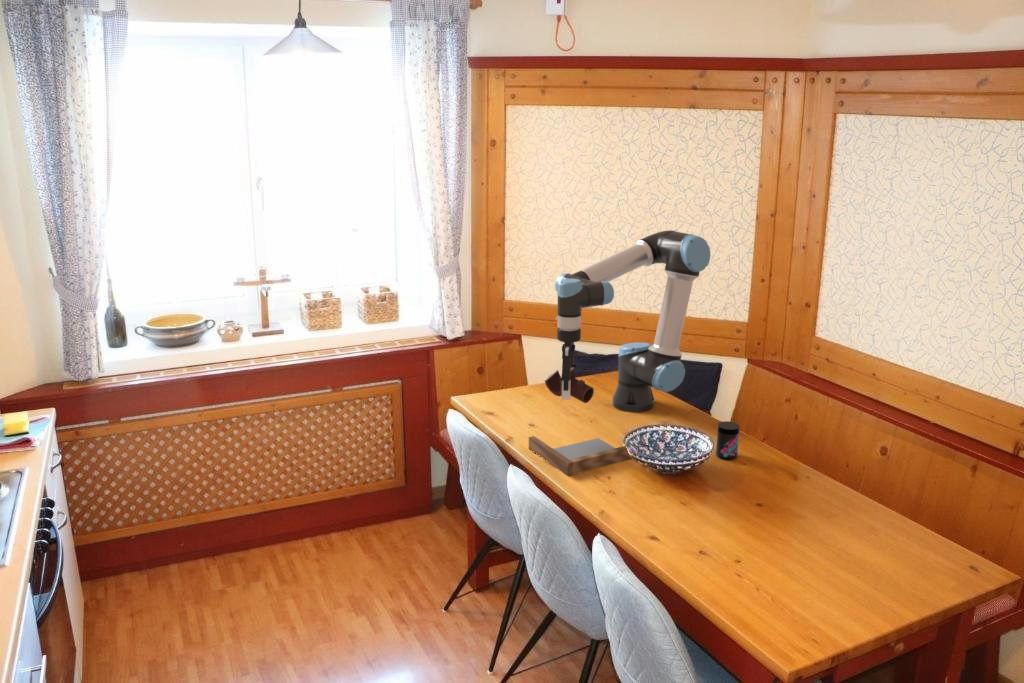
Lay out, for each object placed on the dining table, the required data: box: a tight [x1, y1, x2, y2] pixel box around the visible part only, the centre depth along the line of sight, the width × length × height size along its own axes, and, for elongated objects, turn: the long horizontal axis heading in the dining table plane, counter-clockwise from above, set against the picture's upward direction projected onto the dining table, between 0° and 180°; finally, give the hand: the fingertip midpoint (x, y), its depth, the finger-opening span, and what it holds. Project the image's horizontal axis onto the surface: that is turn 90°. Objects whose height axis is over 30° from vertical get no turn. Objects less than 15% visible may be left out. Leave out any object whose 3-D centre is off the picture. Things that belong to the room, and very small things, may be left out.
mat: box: [553, 437, 616, 460], centre depth 276 cm, size 20×11×1 cm, turn 119°
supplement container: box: [715, 420, 741, 461], centre depth 270 cm, size 7×7×10 cm
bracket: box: [544, 367, 595, 404], centre depth 278 cm, size 6×17×10 cm
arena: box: [528, 435, 633, 477], centre depth 273 cm, size 24×23×4 cm
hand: (567, 393), depth 279 cm, fingers closed on bracket, 11 cm apart
